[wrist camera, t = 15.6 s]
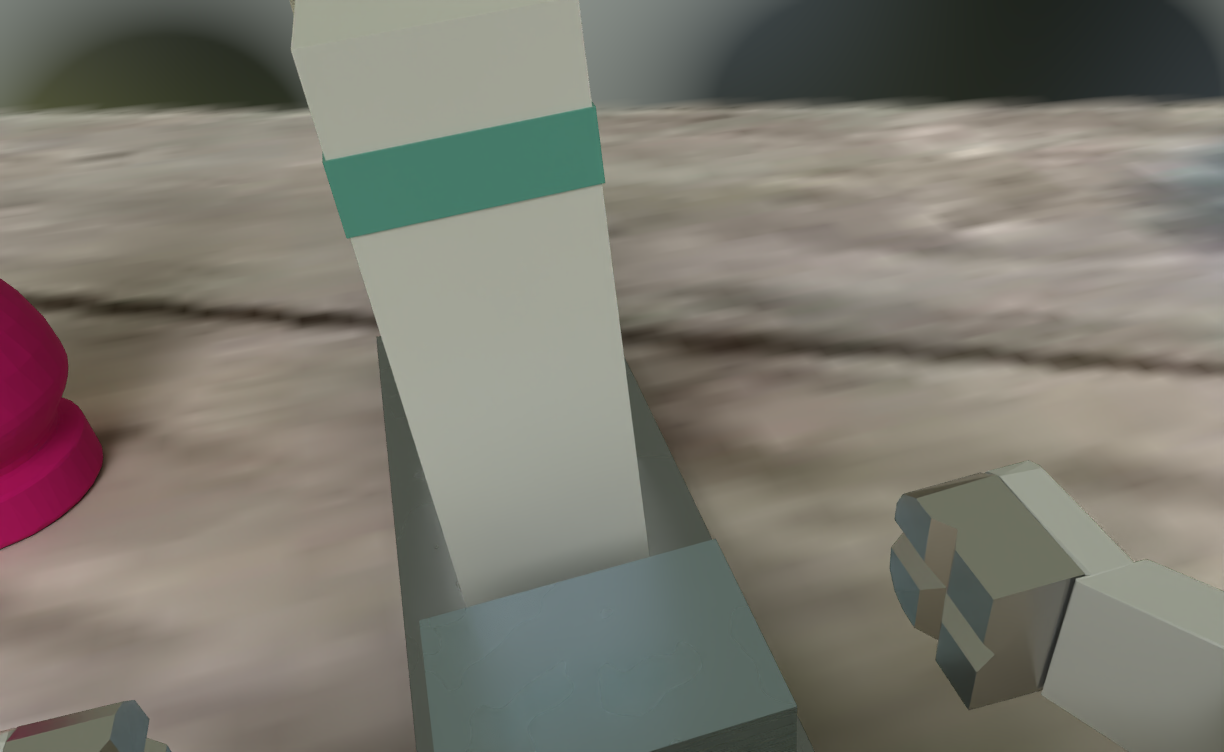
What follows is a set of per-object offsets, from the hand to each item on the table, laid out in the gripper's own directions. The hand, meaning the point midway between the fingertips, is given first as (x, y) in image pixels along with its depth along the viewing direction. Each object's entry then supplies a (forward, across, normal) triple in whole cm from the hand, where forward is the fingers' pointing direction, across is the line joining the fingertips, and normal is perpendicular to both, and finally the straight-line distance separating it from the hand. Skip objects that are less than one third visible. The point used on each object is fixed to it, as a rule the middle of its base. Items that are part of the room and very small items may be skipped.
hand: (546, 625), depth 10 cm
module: (+12, -1, +10) cm, 15 cm away
